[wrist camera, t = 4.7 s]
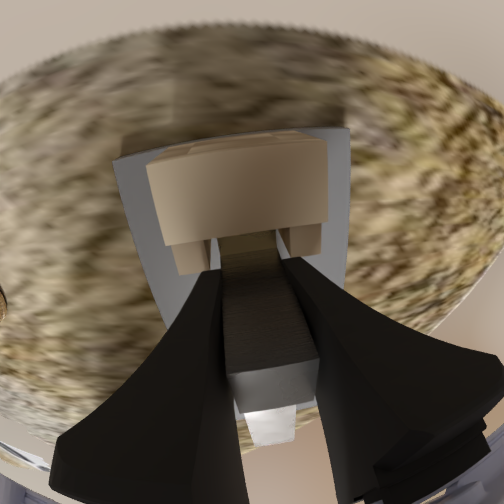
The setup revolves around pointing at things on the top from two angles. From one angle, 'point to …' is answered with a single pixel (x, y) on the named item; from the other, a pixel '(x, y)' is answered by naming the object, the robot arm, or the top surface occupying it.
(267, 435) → the outer sleeve
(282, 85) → the top surface
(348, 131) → the base board
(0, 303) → the sprinkles bottle
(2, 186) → the top surface
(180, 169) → the socket block
